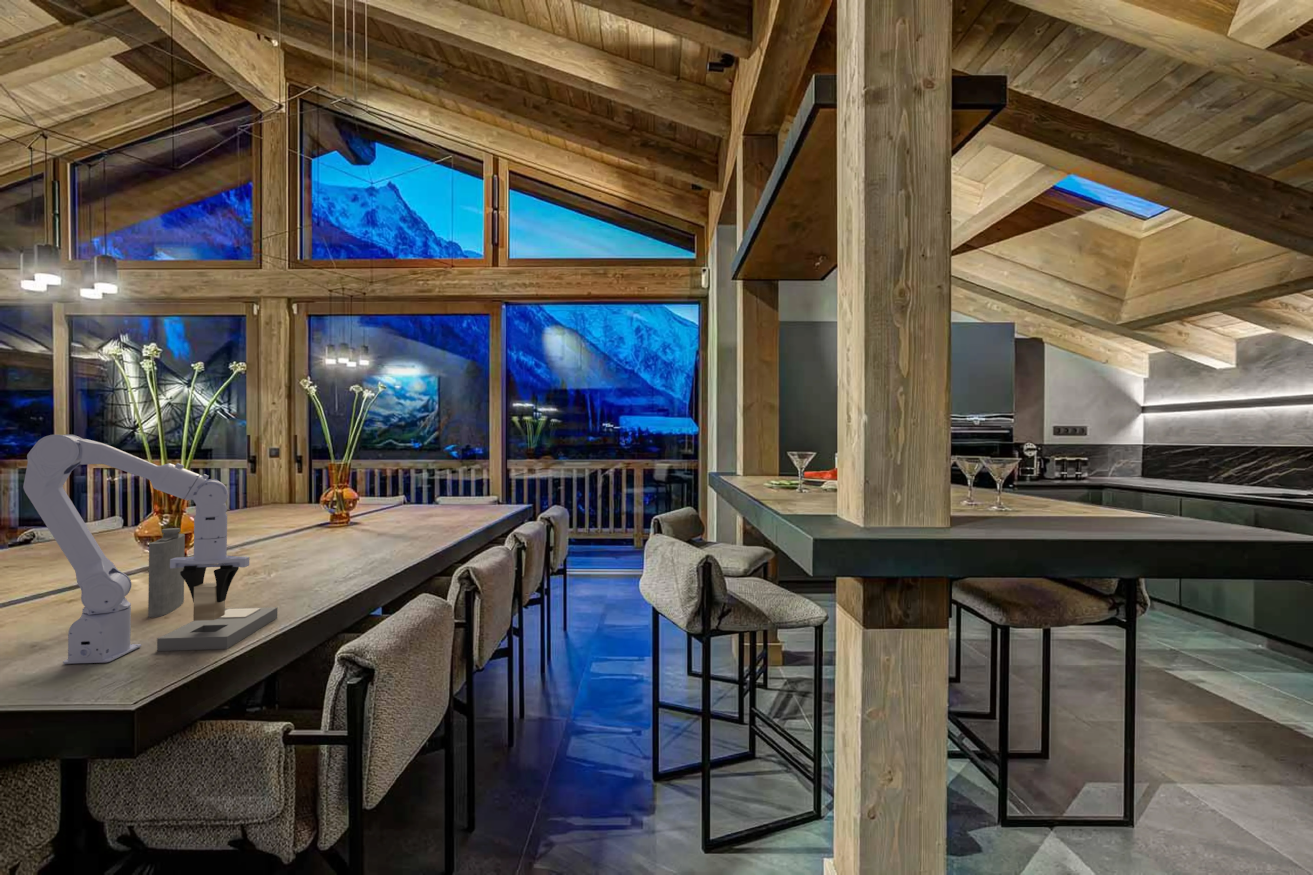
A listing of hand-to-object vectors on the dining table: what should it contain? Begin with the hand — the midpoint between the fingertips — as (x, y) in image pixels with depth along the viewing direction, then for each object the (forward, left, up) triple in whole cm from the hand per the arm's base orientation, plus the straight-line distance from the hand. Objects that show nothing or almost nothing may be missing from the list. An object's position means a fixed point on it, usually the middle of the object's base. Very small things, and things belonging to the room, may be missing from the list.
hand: (209, 601), depth 132 cm
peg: (0, 0, -3) cm, 3 cm away
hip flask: (+27, +23, -8) cm, 37 cm away
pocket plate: (+5, 0, -8) cm, 10 cm away
